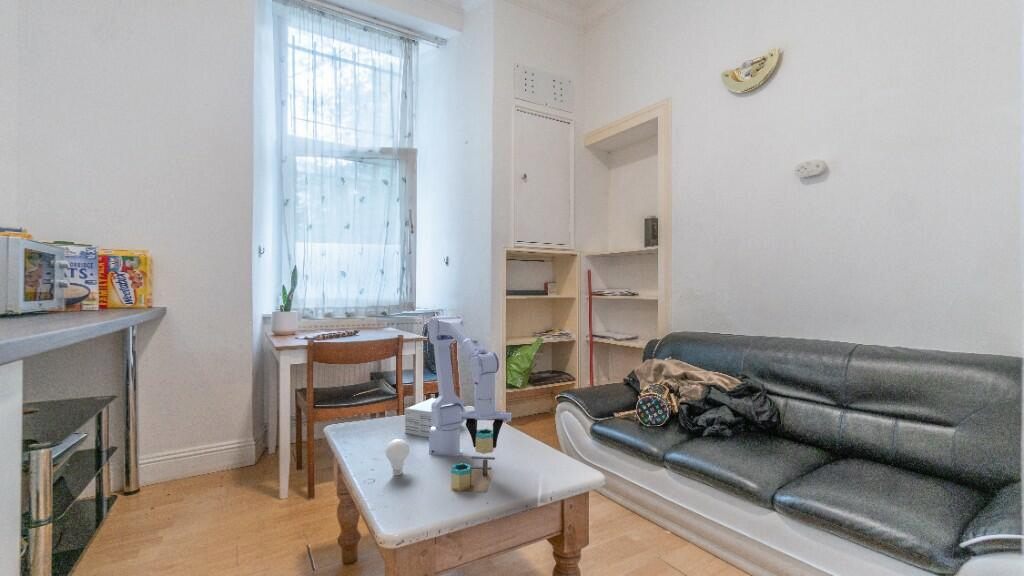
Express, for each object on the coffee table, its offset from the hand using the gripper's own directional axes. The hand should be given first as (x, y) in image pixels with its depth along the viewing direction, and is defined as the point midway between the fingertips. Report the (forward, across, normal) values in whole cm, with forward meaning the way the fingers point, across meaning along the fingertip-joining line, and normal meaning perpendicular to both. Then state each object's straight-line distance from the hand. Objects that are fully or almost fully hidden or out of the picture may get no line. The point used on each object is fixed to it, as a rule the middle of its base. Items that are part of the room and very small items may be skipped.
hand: (485, 446), depth 121 cm
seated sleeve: (+8, -5, -7) cm, 12 cm away
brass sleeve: (+1, 0, 0) cm, 1 cm away
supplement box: (+10, -27, +41) cm, 50 cm away
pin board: (+9, -2, -4) cm, 10 cm away
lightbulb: (+10, -24, -1) cm, 26 cm away
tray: (+9, -2, +8) cm, 12 cm away
